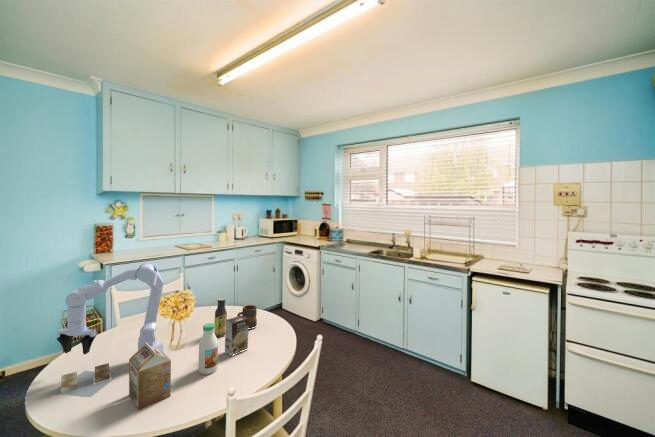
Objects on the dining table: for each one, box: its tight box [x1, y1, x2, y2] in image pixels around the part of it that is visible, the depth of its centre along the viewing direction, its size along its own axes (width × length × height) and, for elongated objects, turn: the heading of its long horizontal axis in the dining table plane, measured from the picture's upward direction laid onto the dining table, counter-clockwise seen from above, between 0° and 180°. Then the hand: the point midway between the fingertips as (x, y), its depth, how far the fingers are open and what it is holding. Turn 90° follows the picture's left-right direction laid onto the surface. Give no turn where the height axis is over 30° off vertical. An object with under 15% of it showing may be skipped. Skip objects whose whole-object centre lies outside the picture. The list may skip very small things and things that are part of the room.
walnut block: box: [94, 362, 111, 383], centre depth 117 cm, size 4×4×4 cm
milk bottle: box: [198, 322, 219, 375], centre depth 126 cm, size 8×8×20 cm
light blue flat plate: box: [50, 370, 121, 398], centre depth 114 cm, size 16×15×1 cm
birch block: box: [60, 371, 78, 393], centre depth 111 cm, size 4×4×4 cm
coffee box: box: [224, 315, 249, 355], centre depth 143 cm, size 9×6×16 cm
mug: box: [236, 304, 258, 328], centre depth 169 cm, size 9×12×12 cm
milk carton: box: [128, 342, 172, 411], centre depth 108 cm, size 11×11×19 cm
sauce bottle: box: [213, 297, 228, 338], centre depth 158 cm, size 7×6×20 cm
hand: (77, 352), depth 118 cm, fingers open, 7 cm apart
